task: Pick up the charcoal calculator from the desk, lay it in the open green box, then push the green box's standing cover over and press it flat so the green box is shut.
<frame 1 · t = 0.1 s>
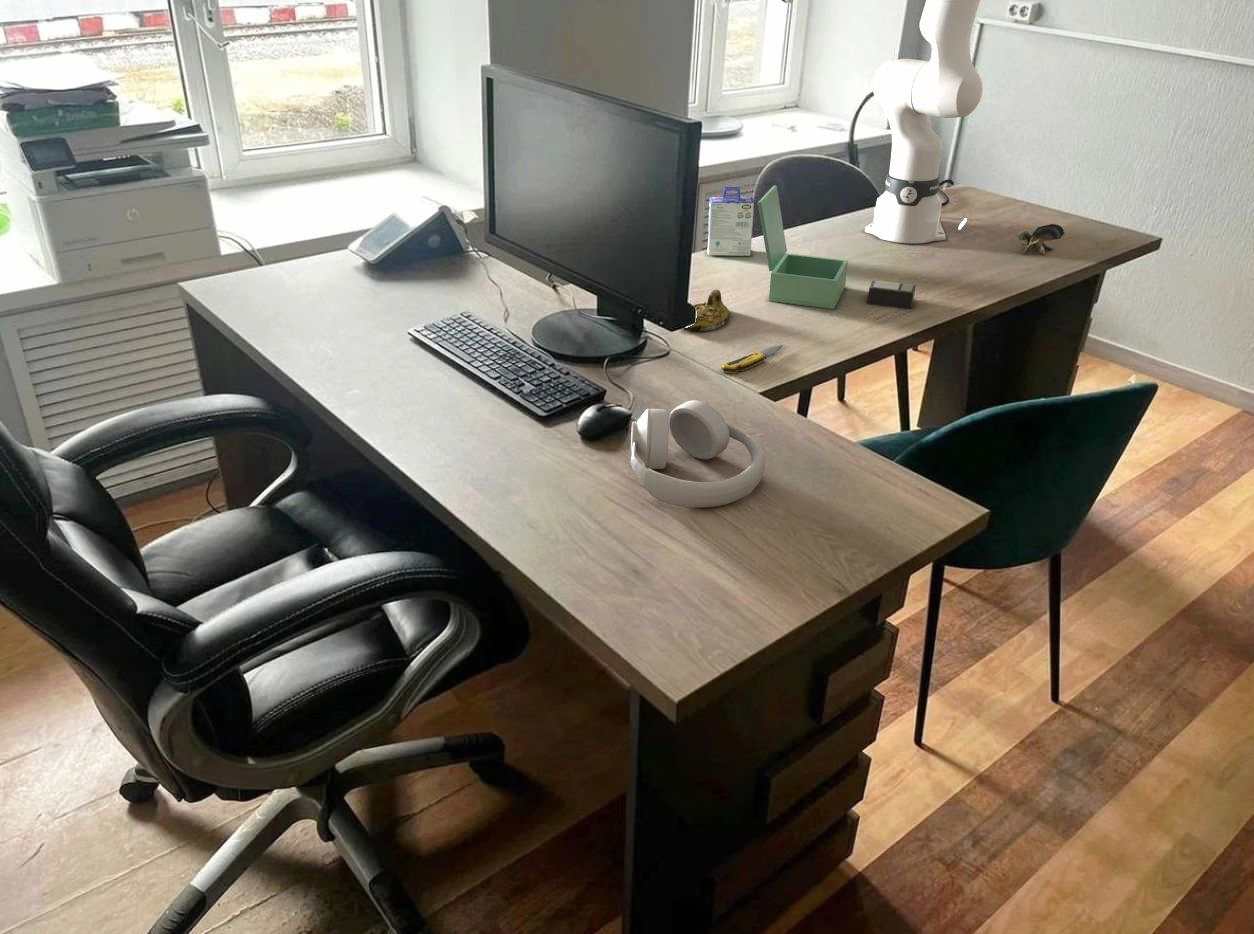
utility knife: (755, 361, 175), on the table
case cover: (772, 227, 200), point 13 cm above the table, hinge at 104.0°
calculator: (890, 301, 200), on the table
ink cartridge box: (728, 253, 227), on the table
green box: (807, 294, 204), on the table
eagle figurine: (1036, 252, 229), on the table
headphones: (692, 475, 140), on the table
seal: (702, 321, 191), on the table
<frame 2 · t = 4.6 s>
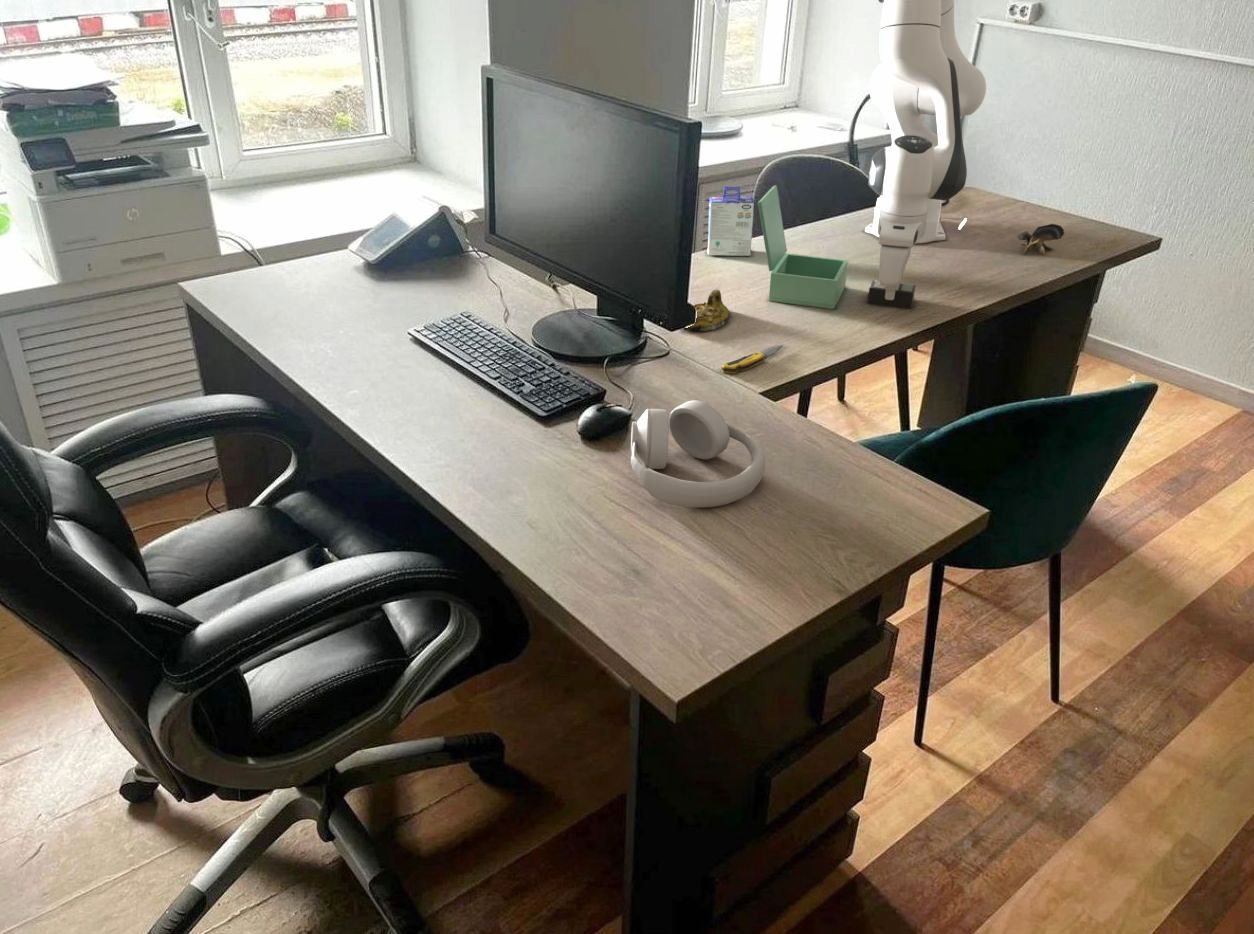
hand: (891, 293, 200), 2 cm above the table, tool pointing down, fingers closed on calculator, 5 cm apart
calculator: (890, 301, 200), on the table, touching gripper
everything else where it was.
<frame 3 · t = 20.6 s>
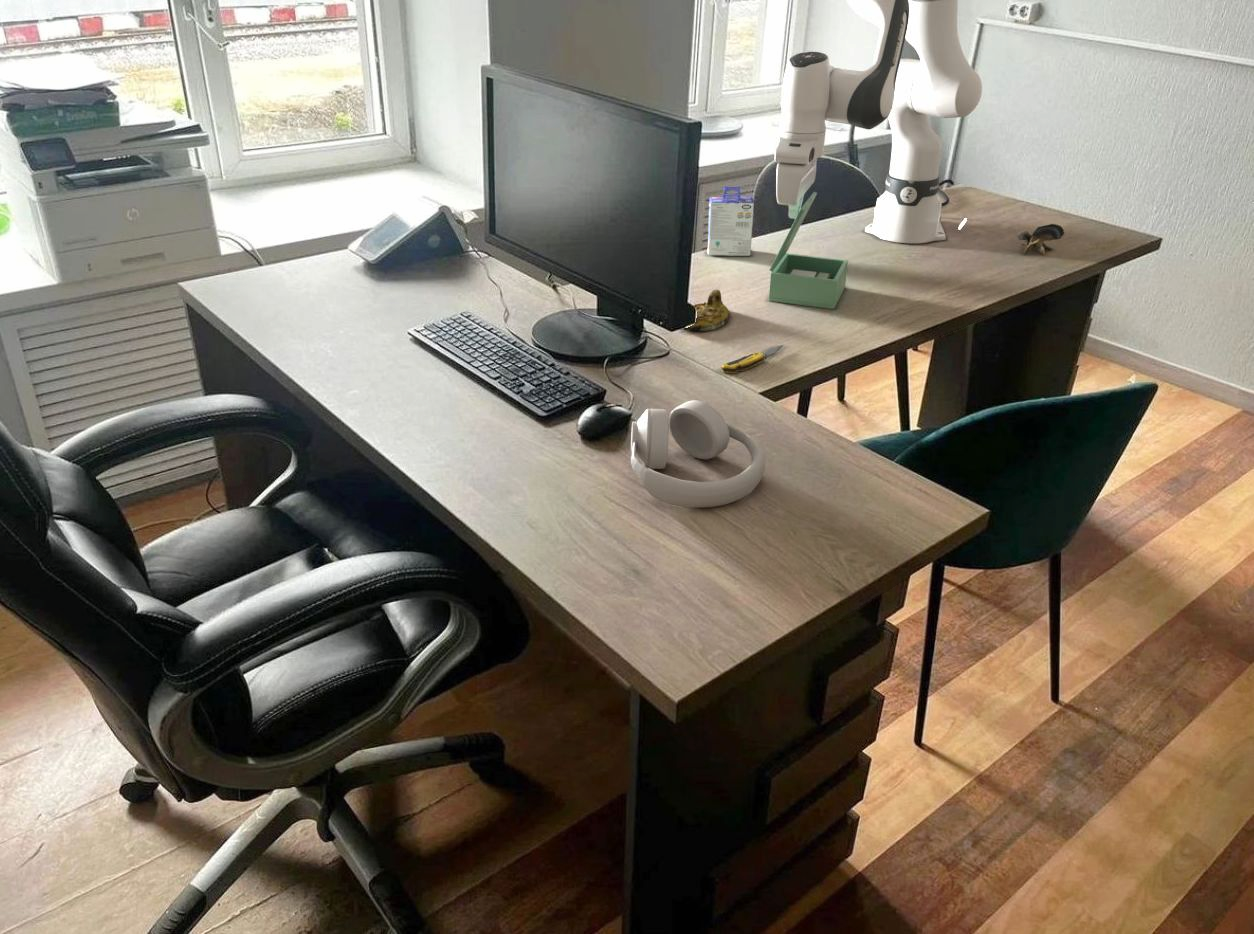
hand: (794, 216, 198), 15 cm above the table, tool pointing down, fingers closed
case cover: (793, 231, 199), point 13 cm above the table, hinge at 68.3°, touching gripper
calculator: (807, 290, 204), point 1 cm above the table, touching green box
everything else where it was.
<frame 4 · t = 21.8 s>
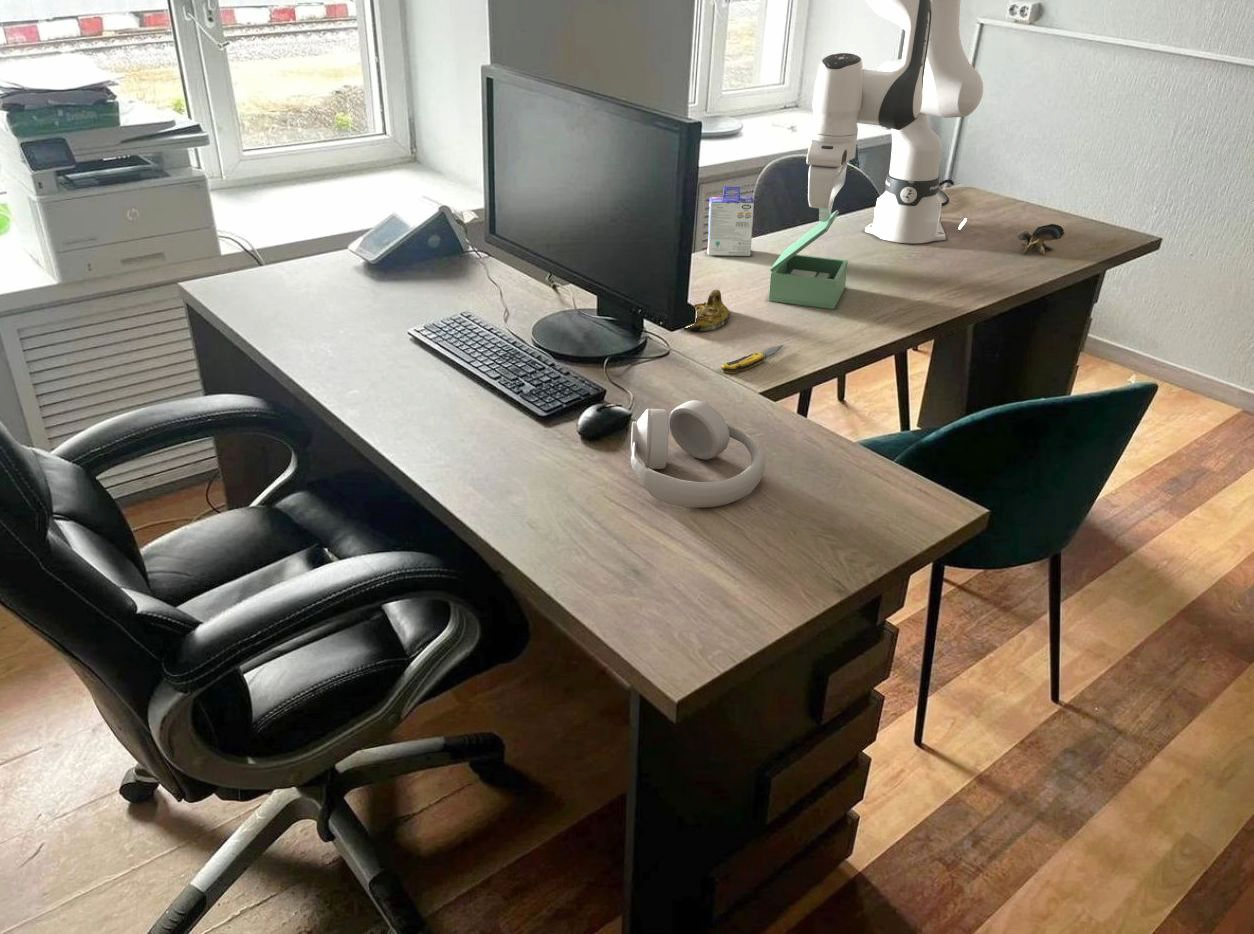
hand: (824, 219, 196), 16 cm above the table, tool pointing down, fingers closed
case cover: (804, 240, 199), point 11 cm above the table, hinge at 43.4°
everything else where it was.
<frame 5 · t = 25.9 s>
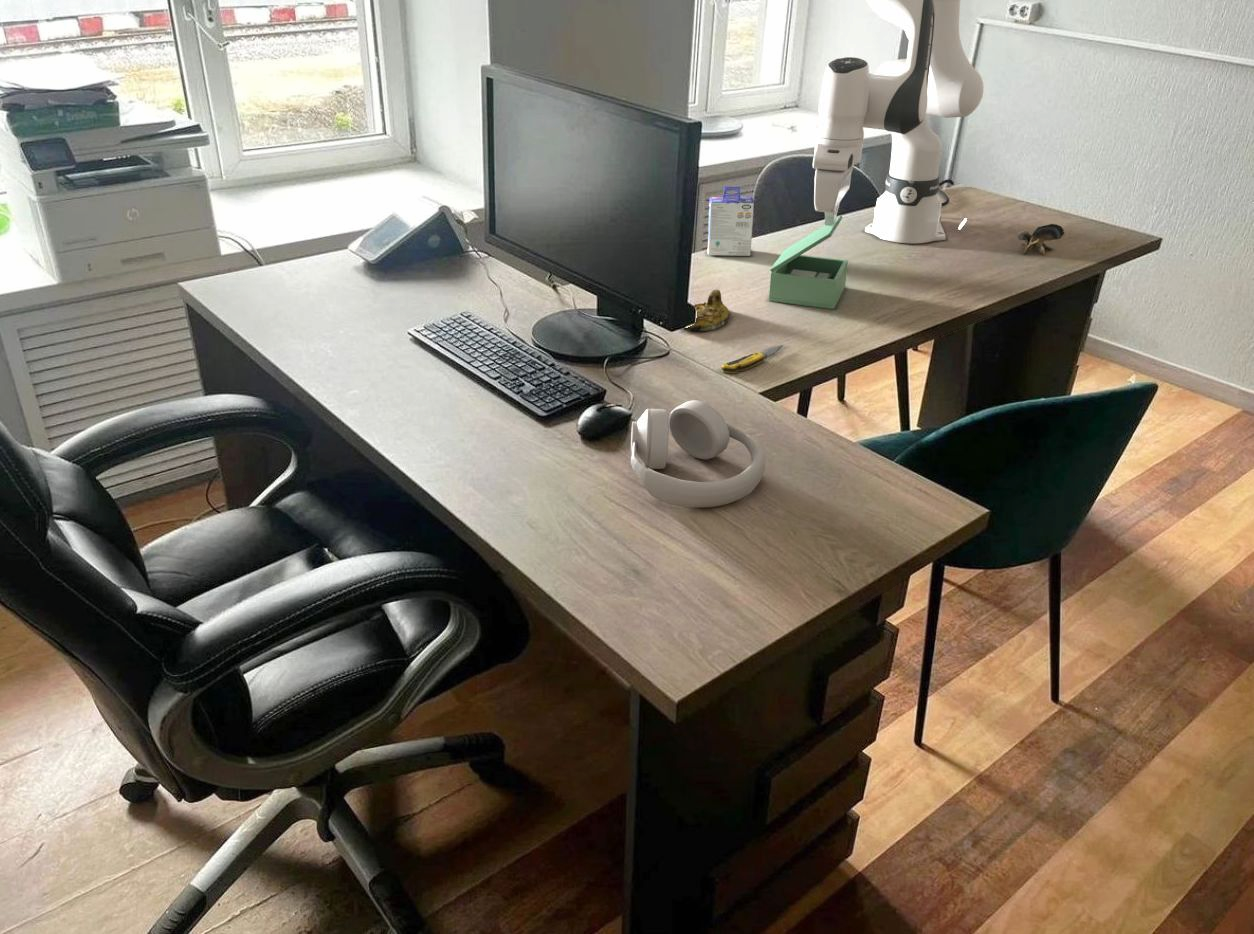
hand: (829, 223, 196), 15 cm above the table, tool pointing down, fingers closed
case cover: (806, 243, 199), point 10 cm above the table, hinge at 38.0°, touching gripper
everything else where it was.
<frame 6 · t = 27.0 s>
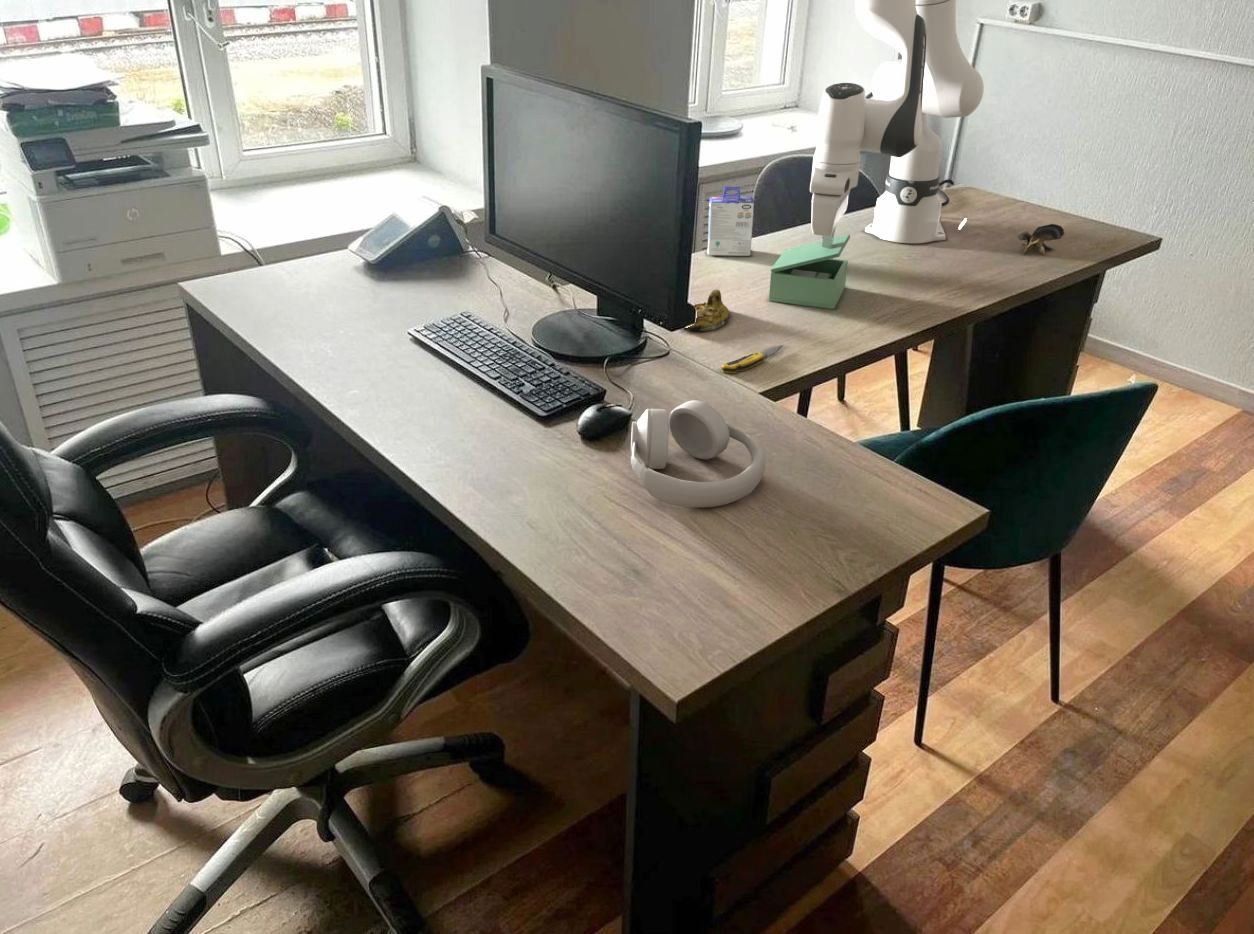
hand: (827, 245, 198), 10 cm above the table, tool pointing down, fingers closed
case cover: (810, 253, 200), point 9 cm above the table, hinge at 20.2°, touching gripper
everything else where it was.
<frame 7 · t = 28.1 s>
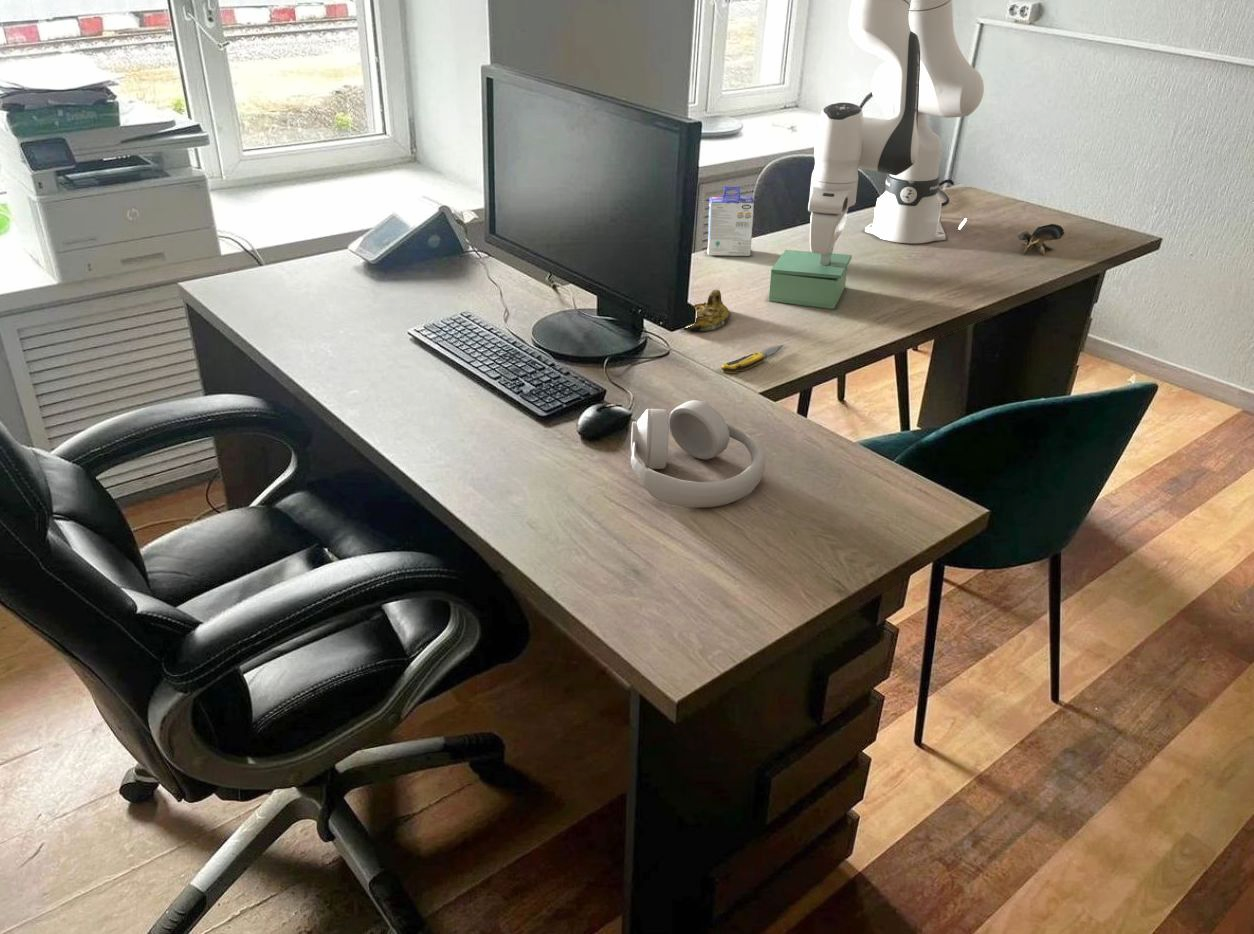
hand: (825, 262, 200), 7 cm above the table, tool pointing down, fingers closed, pressing on case cover
case cover: (811, 263, 201), point 6 cm above the table, hinge at 1.9°, touching gripper
everything else where it was.
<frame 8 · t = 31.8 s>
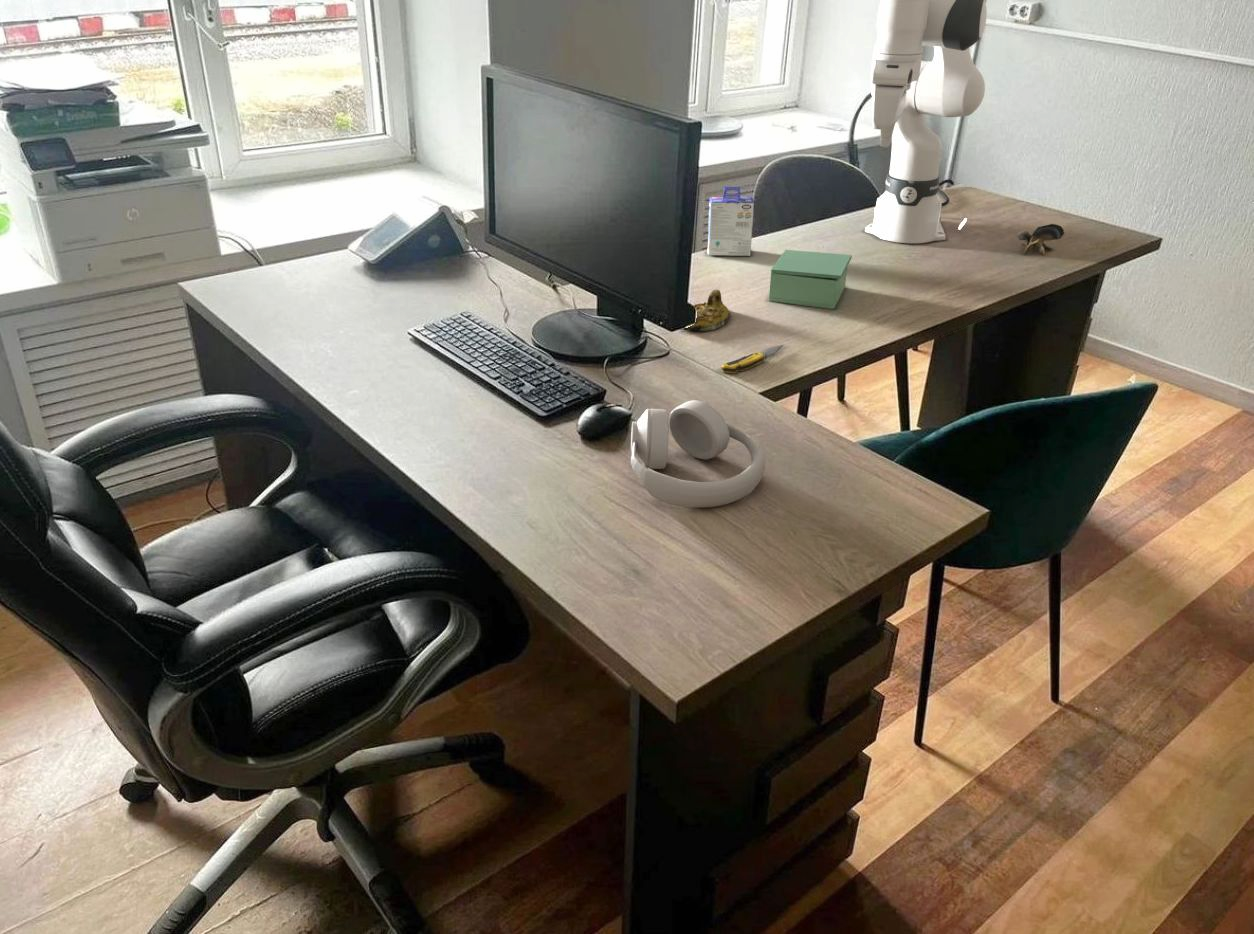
hand: (885, 145, 192), 29 cm above the table, tool pointing down, fingers closed
case cover: (811, 263, 201), point 6 cm above the table, hinge at 1.8°
everything else where it was.
at the end: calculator inside the target area in the green box (0.1 cm from its centre), point 0.8 cm above the green box's base; case cover at +2° (first picture: +104°) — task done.
